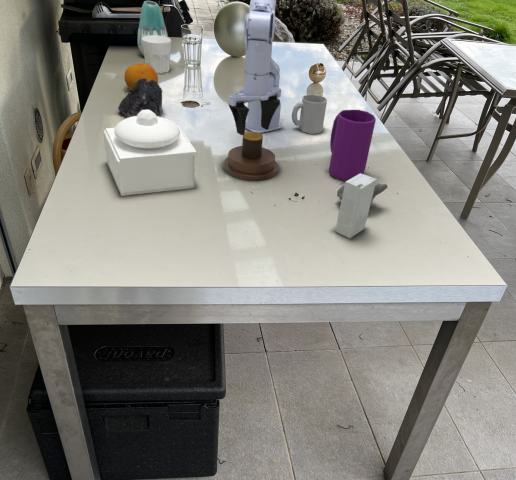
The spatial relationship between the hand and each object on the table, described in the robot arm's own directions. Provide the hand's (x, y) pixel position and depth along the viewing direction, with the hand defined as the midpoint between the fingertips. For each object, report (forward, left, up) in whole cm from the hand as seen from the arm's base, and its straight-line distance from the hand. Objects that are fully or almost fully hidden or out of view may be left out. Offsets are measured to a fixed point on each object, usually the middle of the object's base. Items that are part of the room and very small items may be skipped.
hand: (252, 131), depth 132 cm
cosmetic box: (0, +37, -10) cm, 38 cm away
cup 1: (-20, -80, -10) cm, 83 cm away
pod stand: (0, +1, -9) cm, 9 cm away
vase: (-27, -95, -10) cm, 99 cm away
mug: (-21, +13, -10) cm, 26 cm away
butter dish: (+25, -8, -10) cm, 28 cm away
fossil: (-10, +30, -10) cm, 33 cm away
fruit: (-4, -63, -10) cm, 64 cm away
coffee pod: (+1, +1, -6) cm, 6 cm away
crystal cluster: (+6, -45, -10) cm, 47 cm away
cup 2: (-31, -12, -10) cm, 34 cm away
